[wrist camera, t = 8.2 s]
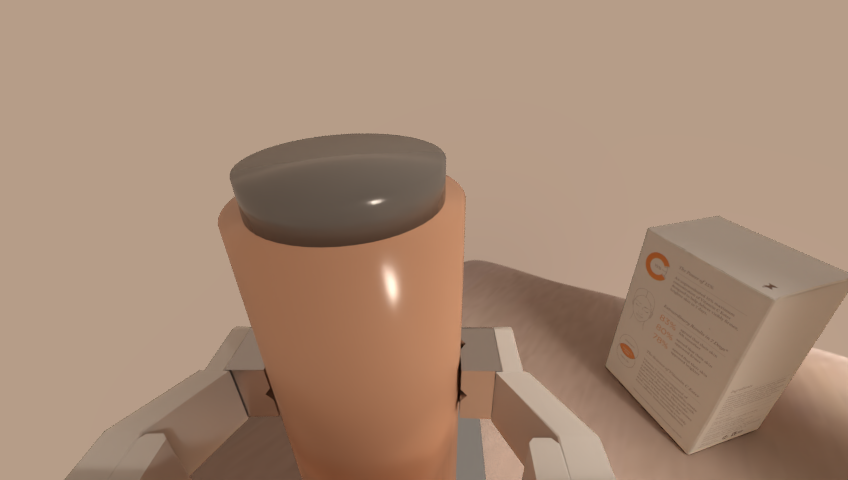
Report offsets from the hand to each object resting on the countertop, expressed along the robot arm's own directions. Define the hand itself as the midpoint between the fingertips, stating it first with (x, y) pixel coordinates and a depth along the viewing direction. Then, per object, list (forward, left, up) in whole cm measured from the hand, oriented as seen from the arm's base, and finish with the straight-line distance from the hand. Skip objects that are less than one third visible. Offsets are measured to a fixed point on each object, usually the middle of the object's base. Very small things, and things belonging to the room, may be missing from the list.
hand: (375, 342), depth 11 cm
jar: (0, +1, -7) cm, 7 cm away
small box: (-20, -12, -17) cm, 29 cm away
